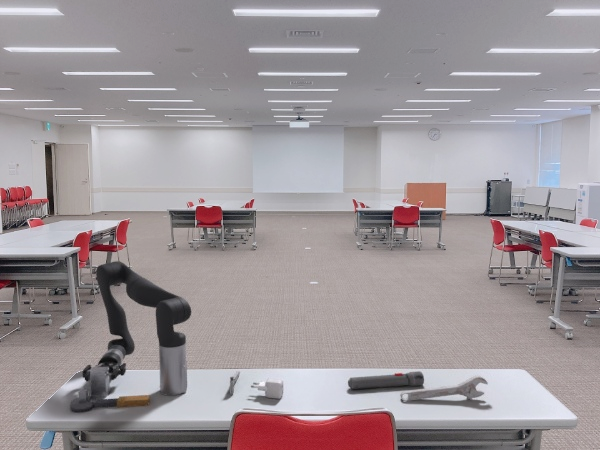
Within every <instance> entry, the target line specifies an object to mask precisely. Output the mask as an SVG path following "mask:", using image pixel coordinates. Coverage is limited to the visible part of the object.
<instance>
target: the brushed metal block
mask: <svg viewBox="0 0 600 450" xmlns="http://www.w3.org/2000/svg"><path fill="white" fill-rule="evenodd" d="M93 367H94V368H93V370H92V371H91V372H90V380H89V381H90V382H89V383H90V396H94V397H96V398H99V399H102V398H107V396H108V395H109V393H110V392H111V391H110V390H111V388H110V375H109V367H95V366H93Z"/></svg>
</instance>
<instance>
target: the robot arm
mask: <svg viewBox="0 0 600 450" xmlns="http://www.w3.org/2000/svg"><path fill="white" fill-rule="evenodd" d="M95 276H96V280H97V284H98V288H99V291H100V295H101V298H102V302H103V304H104V307H105V310H106V316H107V321H108V322H107V323H108V329H109V330H108V331H109V333H110V335H112V336H118V337H121V338H115V339H112V340H111V339H110V341H109V342H108V343H107V351H105V352H104V354H103V355H102V356H101V358H100V359H99V361H98V363H97V364H96V365H95V366H92V364H88V365H86V366H85V367H84V368H83V369H82V378H84V381H85V382H89V381H90V372H91V371H92V370H93V368H94V367H109V376H111V381H115V379H117V378H118V377H119V376H120V377H121V376H125V374H126V371H127V363H125V362H123V361H124V359H125V357H126V356H130V355H132V354H133V353H134V351H135V349H136V346H135V345H136V344H135V342H134V340H133V337H132V335H131V333H130V331H129V328H128V322H127V321H128V320H127V315H126V311H125V310H124V308H123V306H122V305H121V304H120V303H119V302H118V301H117V299H116V298H115V297H114V295H113V294H112V292H111V291H112V290H111V286H115V285H118V284H119V285H120V284H125V292H126V295H127V296H128V298H129V299H131V300H132V301H134V302H135V303H136V304H138V305H141V306H143V307H146V308H147V307H149V308H155V322H156V324H155V325H156V334H157V335H156V336H157V339H158V352H159V353H158V354H159V355H158V356H159V358H158V359H159V392H160V394H162V395H164V396H178V395H181V394H185V393H187V391H188V390H187V388H188V361H187V346H186V345H187V343H186V342H187V340H186V338H187V337H186V334H184V333H183V332H180V331H175V328H174V326H175V325H179V324H183V323H185V322H187V321H188V320H189V319H190V318H191V315H192V309H191V308H192V307H191V305H190V303H189V302H188V301H187V300H186V299H185V298H183V297H182V296H179V295H177V294H174V293H172V292H169V291H168V290H166V289H164V288H162V287H160V286H158V285H157V284H155V283H154V282H152V281H150V280H148V279H147V278H144V277H143V276H142V275H140V274H139V273H137V272H135V271H133V269H131V268H130V267H129V266H128V265H126V264H125V263H124V262H122V261H119V260H118V261H117V260H115V261H112V262H107V263H102V264H100V265H98V266H97V267H96V270H95Z"/></svg>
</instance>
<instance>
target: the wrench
mask: <svg viewBox="0 0 600 450" xmlns="http://www.w3.org/2000/svg"><path fill="white" fill-rule="evenodd" d="M479 384H484V385H488V384H489V383H488V381H487V380H486V379H485V378H484V377H483V376H481V375H473V376H471V377H469V378H468V379H466V380H465V381H463V382H460V383H458V384H455V385H447V386H445V385H444V386H438V387H429V388H428V387H427V388H419V389H410V390H404V391H401V392H400V394H399V395H400V398H401V400H402V401H403V402H410V401H419V400H425V399H433V398H441V397H447V396H457V395H459V396H463V397H466V399H465V400H469V401H473V399H475V398H479V397H482V396H484V395H485V391H483V390H481V389H477V388H476V387H477V386H478V385H479ZM405 394H406V395H407V397H405V398H404V397H403V396H404V395H405Z"/></svg>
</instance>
